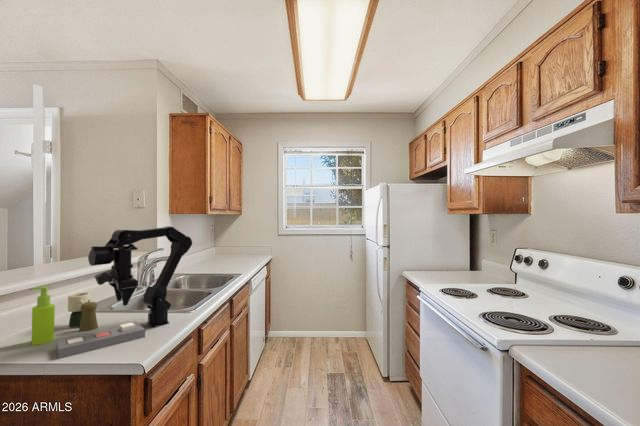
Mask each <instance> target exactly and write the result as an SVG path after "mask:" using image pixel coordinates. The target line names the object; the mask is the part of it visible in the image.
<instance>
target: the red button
mask: <svg viewBox="0 0 640 426" xmlns="http://www.w3.org/2000/svg"><path fill="white" fill-rule="evenodd" d="M107 335H111V334H110V333H109V332H103V333H99V334H95V337H96V338H99V337H103V336H107Z"/></svg>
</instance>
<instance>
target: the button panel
mask: <svg viewBox="0 0 640 426" xmlns="http://www.w3.org/2000/svg"><path fill="white" fill-rule="evenodd" d="M134 324H135V329H134V330H129V331H125V332H121V331H120V326H115V327H111V328H108V329H101V330H98V331H93V332H88V333H85V334H79V335H74V336H71V337H66V338H61V339H60V338H59V339H56V341H55V350H56V355H57V357H58V359H59V360H60V359H64V358H68V357H72V356H76V355H80V354H84V353H87V352H88V353H89V352H92V351H96V350H99V349H103V348H107V347H112V346H115V345H116V346H117V345H119V344H123V343H127V342H132V341H136V340H139V339H143V338H146V328H144V327H143V326H142V325H140V323H138V322H134ZM103 332H109V333H110V334H111V335H107V336H103V337H99V338H96V337H95V334H99V333H103ZM80 337H82V338H83V339H84V341H81V342H77V343H73V344H68V345H67V340H71V339H76V338H80Z"/></svg>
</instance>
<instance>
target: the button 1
mask: <svg viewBox="0 0 640 426" xmlns="http://www.w3.org/2000/svg"><path fill="white" fill-rule="evenodd" d="M81 341H84V339H83V338H82V337H80V338H76V339H71V340H67V345H68V344H73V343H77V342H81Z"/></svg>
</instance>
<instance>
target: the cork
mask: <svg viewBox="0 0 640 426" xmlns="http://www.w3.org/2000/svg"><path fill="white" fill-rule="evenodd" d="M97 307H98V303H97V302H95V301H90V302H86V303H84V304H82V305H81V311H82V317H81V323H80V327H79V330H78V331H79V332H90V331H93V330H96V329H98V327H99V326H98V319H97V314H96V310H97Z"/></svg>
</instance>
